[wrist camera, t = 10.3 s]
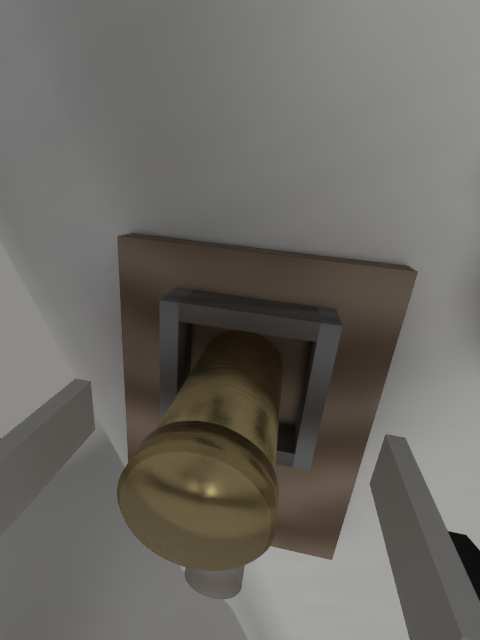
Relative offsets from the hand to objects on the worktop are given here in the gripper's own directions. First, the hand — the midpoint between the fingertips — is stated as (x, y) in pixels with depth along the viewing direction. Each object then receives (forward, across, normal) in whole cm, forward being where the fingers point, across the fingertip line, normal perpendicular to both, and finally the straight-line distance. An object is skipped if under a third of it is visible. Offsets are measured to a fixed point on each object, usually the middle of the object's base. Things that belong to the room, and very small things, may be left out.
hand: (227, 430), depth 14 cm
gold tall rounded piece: (+6, 0, 0) cm, 6 cm away
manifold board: (+7, 0, -4) cm, 8 cm away
